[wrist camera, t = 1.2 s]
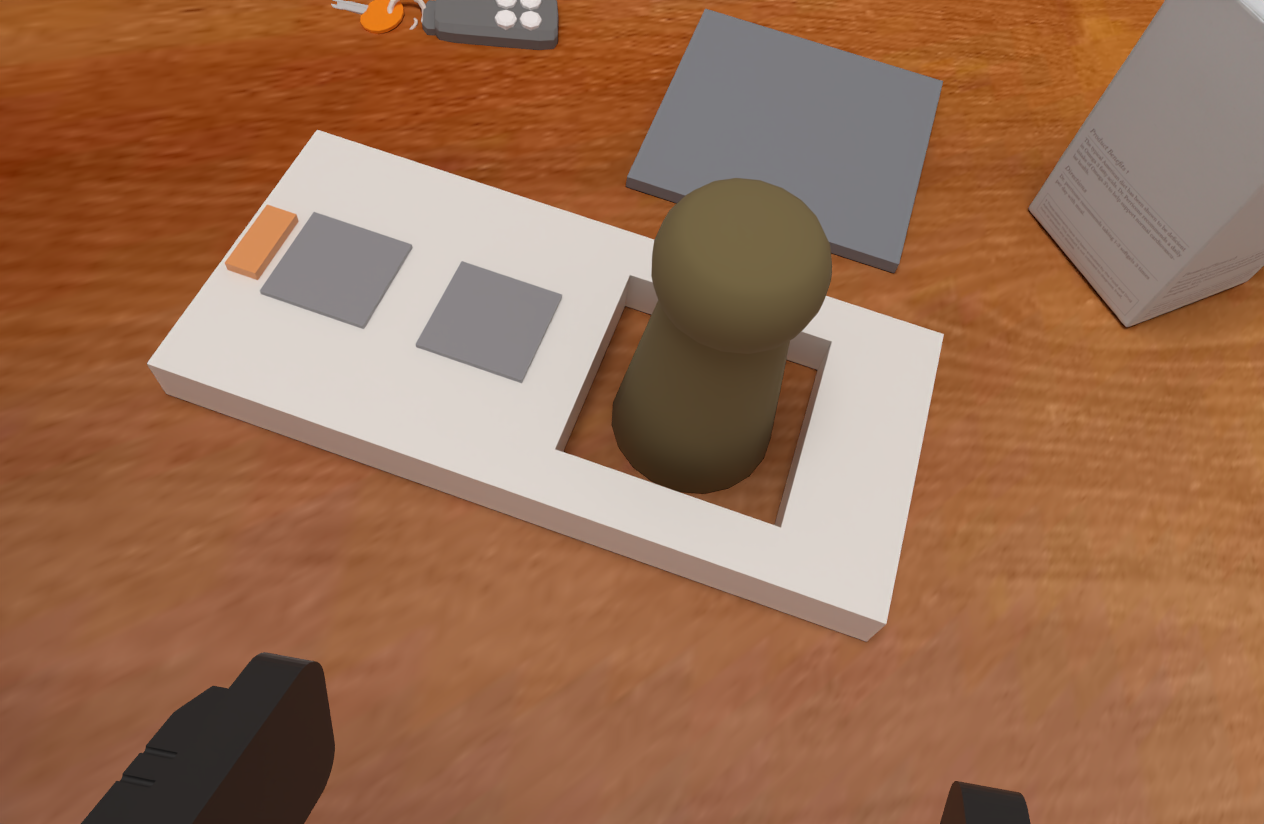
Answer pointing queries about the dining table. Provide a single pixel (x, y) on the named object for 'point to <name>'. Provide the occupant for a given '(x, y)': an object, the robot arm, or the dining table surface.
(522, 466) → the socket strip
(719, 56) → the slate mat
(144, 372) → the dining table surface
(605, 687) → the dining table surface
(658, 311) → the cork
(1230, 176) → the supplement box
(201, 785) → the robot arm
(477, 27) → the key chain
